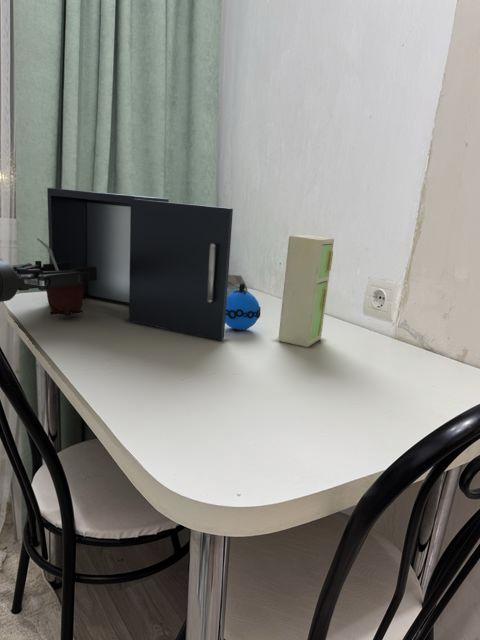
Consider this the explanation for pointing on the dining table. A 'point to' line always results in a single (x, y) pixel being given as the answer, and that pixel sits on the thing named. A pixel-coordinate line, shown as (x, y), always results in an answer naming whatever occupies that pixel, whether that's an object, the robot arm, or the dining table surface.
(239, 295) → the ornament
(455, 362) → the dining table surface
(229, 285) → the beverage carton
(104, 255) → the sliding door cabinet
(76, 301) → the mate gourd
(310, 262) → the toy refrigerator
